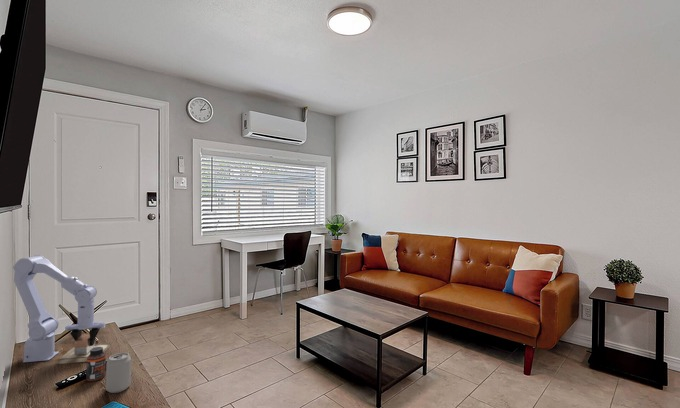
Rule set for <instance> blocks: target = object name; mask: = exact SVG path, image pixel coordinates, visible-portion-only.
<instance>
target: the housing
mask: <svg viewBox="0 0 680 408" xmlns="http://www.w3.org/2000/svg"><path fill="white" fill-rule="evenodd" d="M95 345H96V341H95V342H94V345H93V346H90V334H89V332H88V333H83V334H81V336H80V337H79V338H78V339H77V340H74V346H75V349H74V355H81V354H87V353H88V352H89V351H90V350H91V349H92V348H93V347H95Z"/></svg>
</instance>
